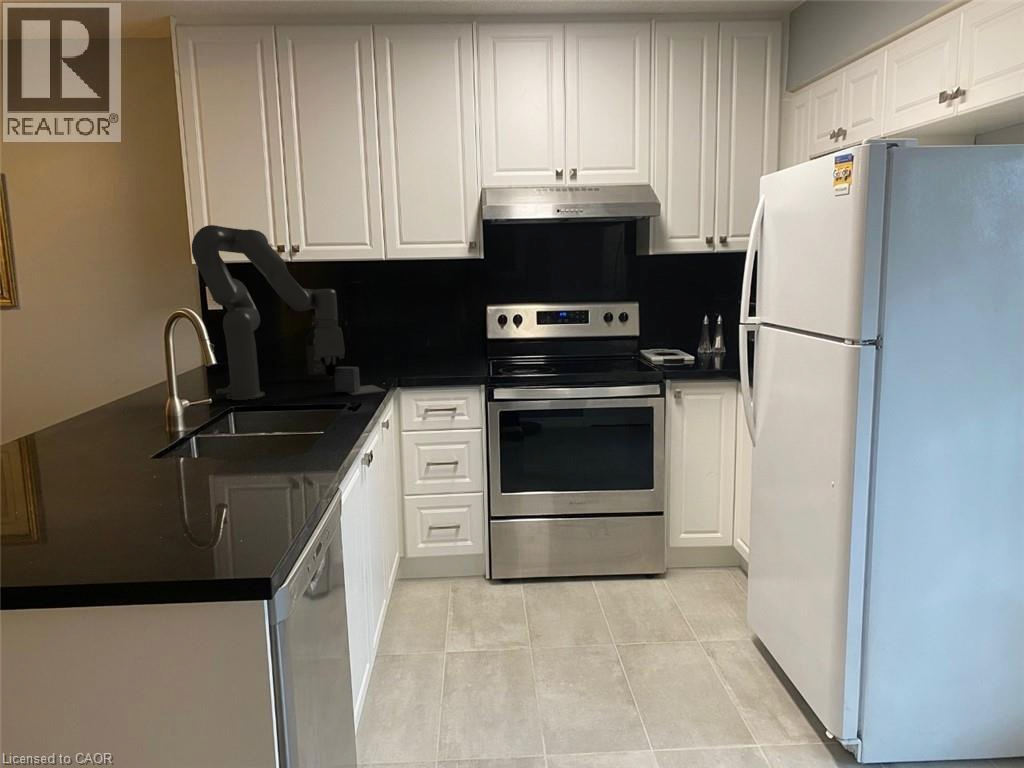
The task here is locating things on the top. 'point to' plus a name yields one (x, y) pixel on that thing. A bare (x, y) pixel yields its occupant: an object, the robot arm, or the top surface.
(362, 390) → the mat
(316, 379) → the liquor
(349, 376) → the medicine box
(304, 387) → the top surface
